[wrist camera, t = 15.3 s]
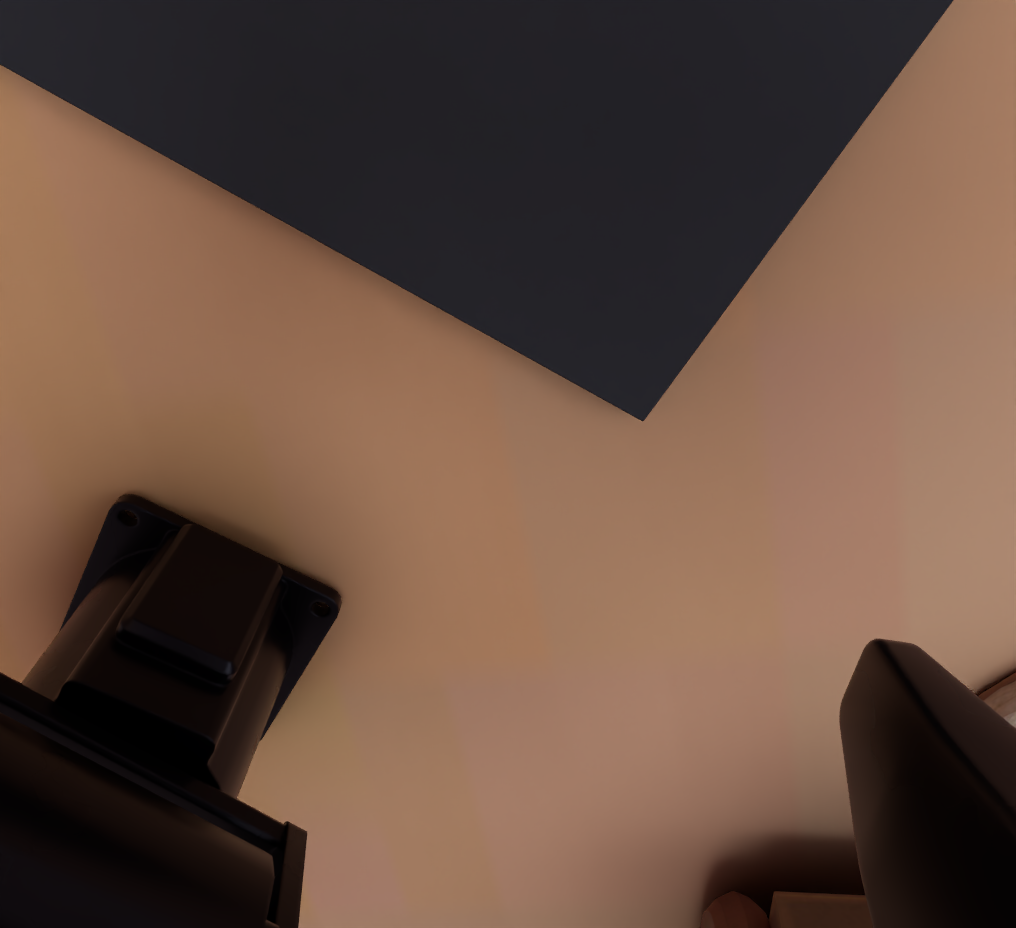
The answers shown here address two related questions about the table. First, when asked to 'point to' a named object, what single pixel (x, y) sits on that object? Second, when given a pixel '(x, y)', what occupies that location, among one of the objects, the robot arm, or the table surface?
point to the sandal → (1003, 698)
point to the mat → (502, 142)
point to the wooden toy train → (789, 911)
